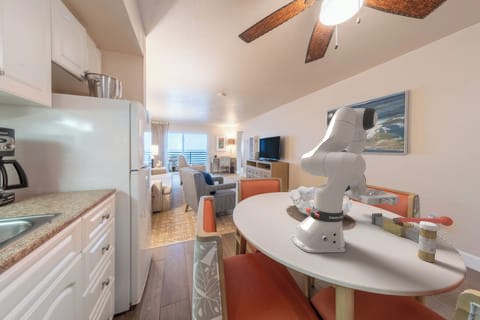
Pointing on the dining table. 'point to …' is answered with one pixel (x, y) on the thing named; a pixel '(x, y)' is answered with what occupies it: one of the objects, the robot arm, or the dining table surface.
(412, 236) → the valve body
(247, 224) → the dining table surface
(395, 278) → the dining table surface
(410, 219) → the lever
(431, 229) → the sprinkles bottle
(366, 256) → the dining table surface
